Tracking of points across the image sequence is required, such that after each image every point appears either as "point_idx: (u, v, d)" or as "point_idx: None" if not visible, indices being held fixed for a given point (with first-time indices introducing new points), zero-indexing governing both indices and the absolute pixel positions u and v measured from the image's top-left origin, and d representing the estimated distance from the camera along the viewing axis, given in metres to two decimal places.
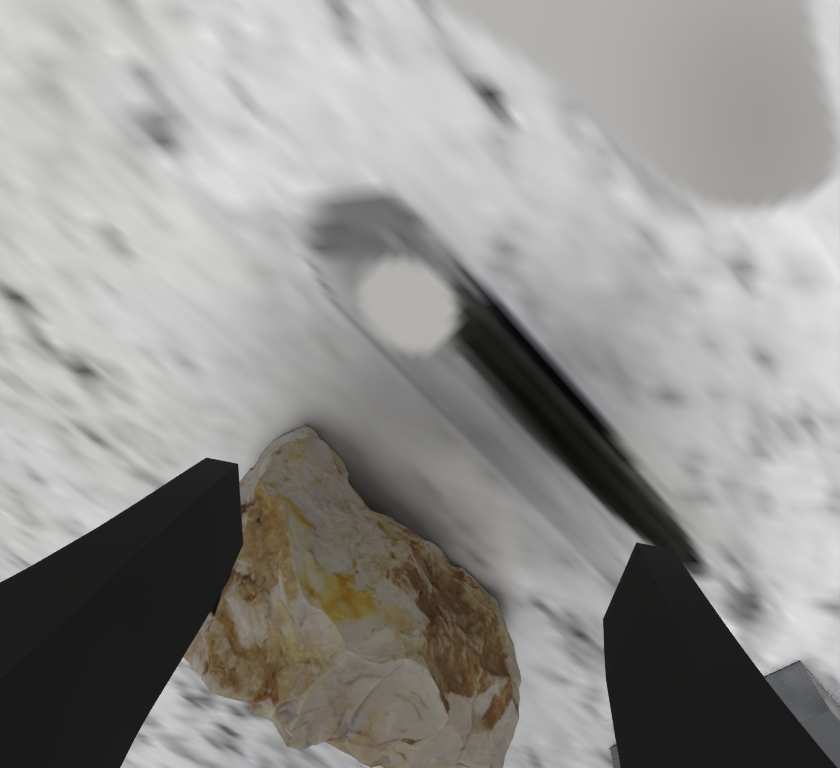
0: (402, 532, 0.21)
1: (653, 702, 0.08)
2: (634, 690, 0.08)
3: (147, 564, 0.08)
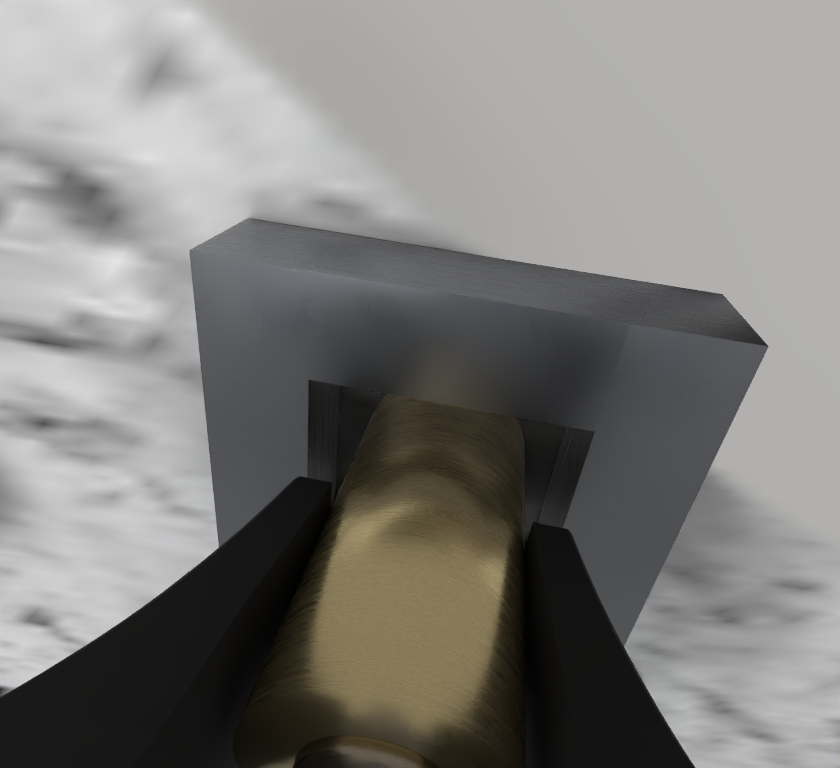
0: None
1: (530, 675, 0.08)
2: None
3: (267, 590, 0.08)
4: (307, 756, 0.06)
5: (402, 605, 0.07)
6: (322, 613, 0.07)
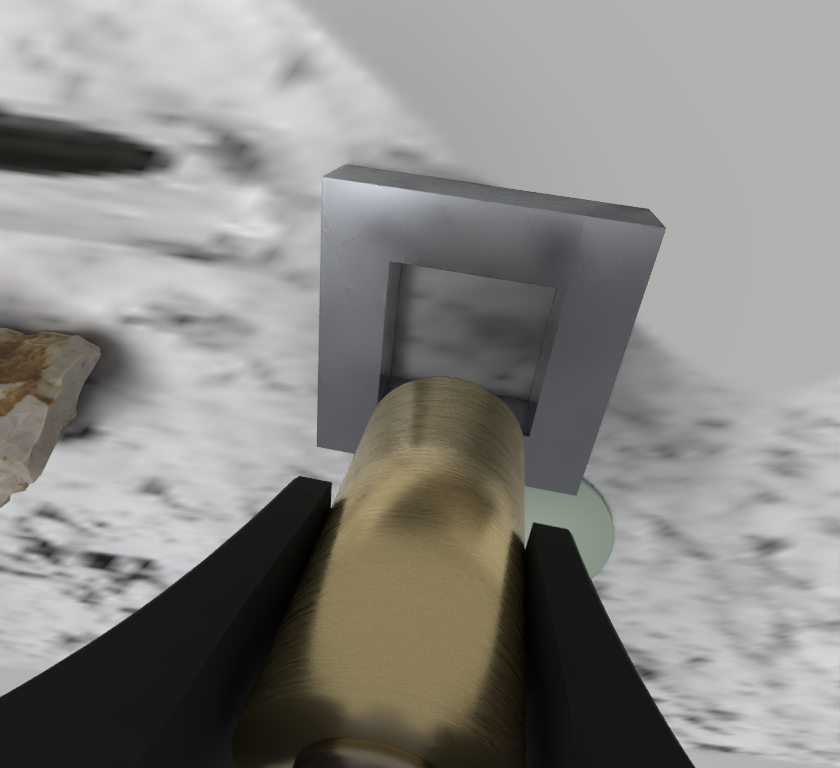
0: None
1: (530, 675, 0.08)
2: None
3: (267, 590, 0.08)
4: (307, 758, 0.06)
5: (405, 607, 0.07)
6: (324, 614, 0.07)
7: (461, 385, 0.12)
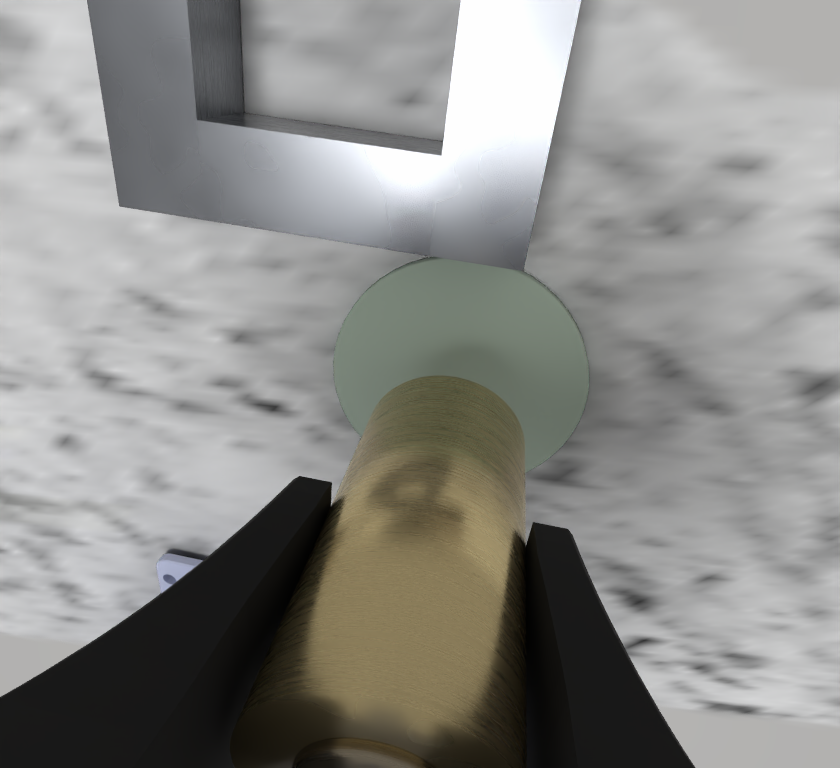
0: None
1: (530, 675, 0.08)
2: None
3: (267, 590, 0.08)
4: (305, 759, 0.06)
5: (401, 606, 0.07)
6: (320, 614, 0.07)
7: (459, 383, 0.12)
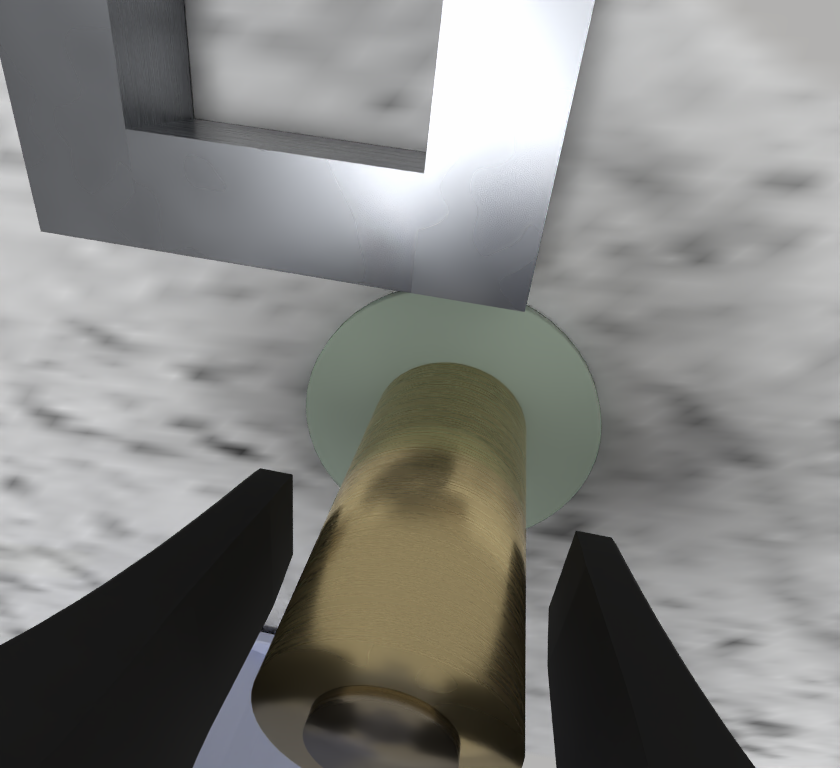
0: None
1: (581, 686, 0.08)
2: (568, 675, 0.09)
3: (217, 579, 0.08)
4: (321, 705, 0.07)
5: (410, 567, 0.07)
6: (335, 575, 0.07)
7: (464, 369, 0.12)
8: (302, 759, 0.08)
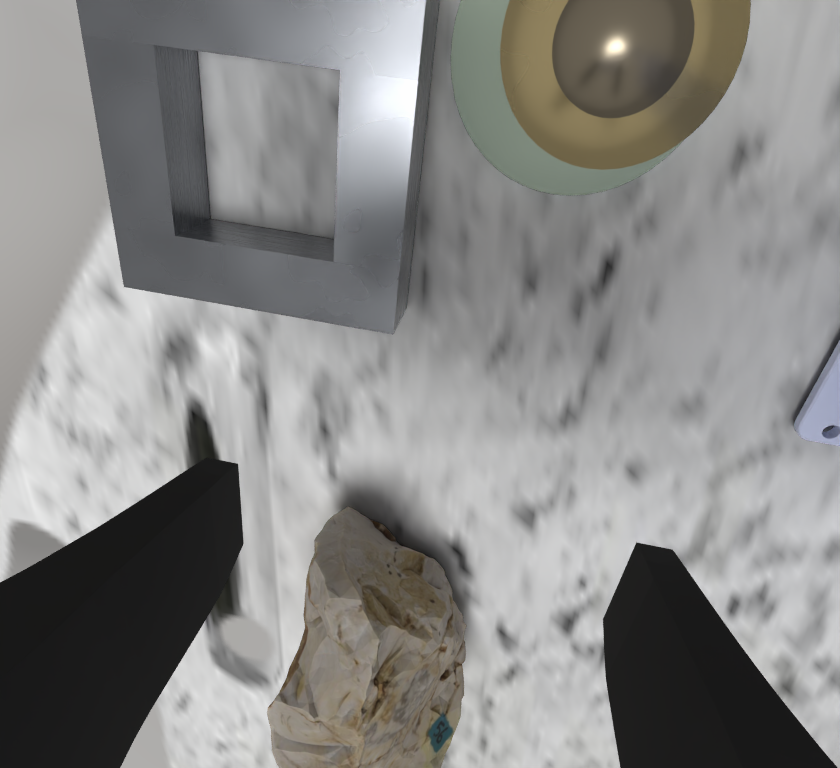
0: None
1: (653, 702, 0.08)
2: (634, 690, 0.08)
3: (147, 564, 0.08)
4: (568, 97, 0.09)
5: None
6: None
7: None
8: (673, 133, 0.09)
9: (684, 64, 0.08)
